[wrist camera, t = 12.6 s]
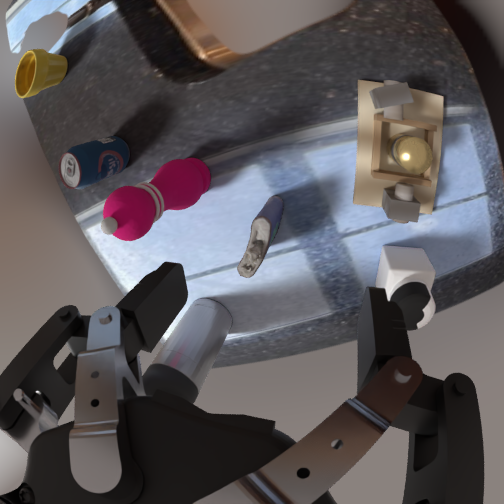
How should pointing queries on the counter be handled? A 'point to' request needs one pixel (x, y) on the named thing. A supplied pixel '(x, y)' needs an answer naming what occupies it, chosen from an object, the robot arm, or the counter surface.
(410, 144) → the cylinder
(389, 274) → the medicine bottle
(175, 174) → the pepper mill
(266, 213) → the flask
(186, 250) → the counter surface
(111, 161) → the soda can
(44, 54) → the plant pot
